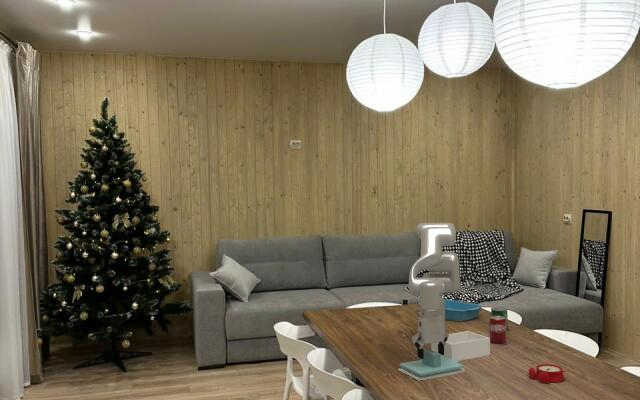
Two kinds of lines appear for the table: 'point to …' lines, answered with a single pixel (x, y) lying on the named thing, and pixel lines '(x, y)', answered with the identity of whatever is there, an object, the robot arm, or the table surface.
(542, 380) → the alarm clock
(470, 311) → the casserole dish
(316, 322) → the table surface
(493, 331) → the soda can
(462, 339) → the tub
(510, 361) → the table surface
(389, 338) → the table surface
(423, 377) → the mat
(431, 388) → the table surface
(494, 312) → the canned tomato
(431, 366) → the lid
